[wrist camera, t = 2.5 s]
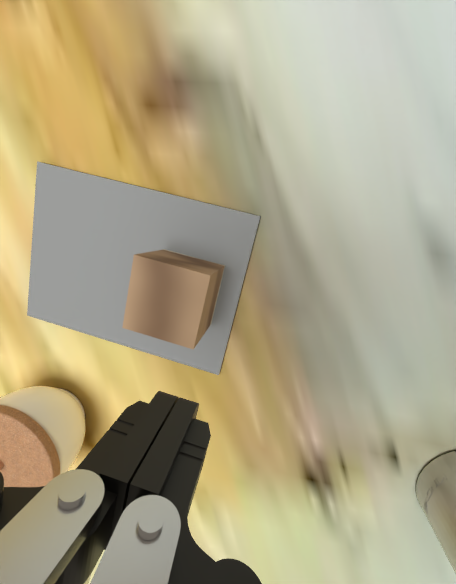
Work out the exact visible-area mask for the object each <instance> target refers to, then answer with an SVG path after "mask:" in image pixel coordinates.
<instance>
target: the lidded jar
mask: <svg viewBox="0 0 456 584" xmlns="http://www.w3.org/2000/svg"><path fill="white" fill-rule="evenodd" d="M85 429H86V428H85V411H84V408H83V406H82V404H81V402H80V401H79V399H78V398H77V397H76V396H75V395H74V394H72V393H71V392H69V391H67V390H65V389H61V388H54V387H49V386H32V387H27V388H22V389H19V390H16V391H13V392H11V393H8V394H6V395H4V396H2V397H0V472H1V473H2V475H3V478H4V487H41V486H46V485H47V484H48V483H49V482H50V481H51V480H52V479H54V478H55V477H57V476H58V475H60V474H62V473H65V472H67V471H68V470H69V469H70V467H71V466H72V464H73V463H74V461H75V459H76V457H77V455H78V454H79V452H80V450H81V447H82V444H83V441H84V437H85Z"/></svg>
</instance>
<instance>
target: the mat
mask: <svg viewBox="0 0 456 584" xmlns="http://www.w3.org/2000/svg"><path fill="white" fill-rule="evenodd" d="M259 220H260V216H257V215H253V214H249V213H245V212H240V211H236V210H232V209H228V208H224V207H220V206H216V205H212V204H208V203H204V202H200V201H196V200H192V199H188V198H183V197H179V196H175V195H171V194H167V193H163V192H159V191H155V190H151V189H147V188H143V187H139V186H135V185H131V184H126V183H122V182H118V181H114V180H110V179H106V178H102V177H98V176H94V175H90V174H86V173H82V172H78V171H74V170H69V169H65V168H61V167H57V166H53V165H49V164H45V163H41V162H37V175H36V190H35V205H34V220H33V236H32V251H31V266H30V281H29V297H28V312H27V315H28V316H31V317H34V318H37V319H40V320H44V321H47V322H50V323H53V324H56V325H60V326H63V327H66V328H69V329H73V330H76V331H79V332H82V333H85V334H89V335H92V336H95V337H98V338H101V339H105V340H108V341H111V342H114V343H117V344H121V345H124V346H127V347H130V348H133V349H137V350H140V351H143V352H146V353H149V354H153V355H156V356H159V357H162V358H165V359H169V360H172V361H175V362H178V363H182V364H185V365H188V366H191V367H194V368H198V369H201V370H204V371H207V372H210V373H214V374H217V375H219V373H220V370H221V366H222V362H223V358H224V354H225V350H226V347H227V343H228V339H229V335H230V331H231V328H232V324H233V320H234V316H235V312H236V308H237V305H238V301H239V297H240V293H241V289H242V285H243V282H244V278H245V274H246V270H247V266H248V262H249V259H250V255H251V251H252V247H253V243H254V239H255V236H256V232H257V228H258V224H259ZM163 249H165V250H169V251H173V252H176V253H180V254H184V255H188V256H191V257H195V258H199V259H203V260H206V261H210V262H214V263H217V264H221V265H225V268H224V272H223V276H222V281H221V285H220V289H219V293H218V297H217V301H216V305H215V310H214V314H213V318H212V322H211V325H210V327H209V328H208V329H207V331H206V332H205V334H204V335H203V337H202V338H201V340H200V341H199V342H198V344H197V345H196V347H195V348H194V350H193V349H190V348H187V347H183V346H180V345H177V344H174V343H170V342H167V341H164V340H160V339H157V338H154V337H151V336H147V335H144V334H141V333H137V332H134V331H131V330H128V329H124V328H122V327H123V320H124V314H125V308H126V301H127V295H128V288H129V282H130V276H131V269H132V263H133V257H134V254H140V253H146V252H152V251H158V250H163Z"/></svg>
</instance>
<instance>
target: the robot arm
mask: <svg viewBox="0 0 456 584" xmlns="http://www.w3.org/2000/svg"><path fill="white" fill-rule="evenodd" d="M198 407H199V403H196V402H192V401H189V400H186V399H183V398H178V397H177V396H173V395H170V394H167V393H164V392H161V391H158V392H157V394H156V395H155V396H154V398H153V399H152V401H151V402H150V403H149V404H148V403H145V402H142V401H138V402H136V403H135V404H133V405H131V406H129V407H127V408H126V409H125V410H124V412H123V413H122V414H121V415H120V417H119V418H118V419H117V421H115V423H114V424H113V425H112V426H111V427H110V429H109V431H107V432H106V433H105V435H104V436H103V437H102V438H101V440H100V441H99V442H98V443H97V444H96V446H95V447H94V448H93V449H92V450H91V452H90V453H89V454H88V455H87V456H86V458H85V459H84V460H83V461H82V463H81V464H80V465H79V466H78V467H77V468H76V469H75V470H71V471H67V472H65V473H62V474H60V475H58V476H57V477H55V478H54V479H52V480H51V481H50V482H49V483H48V484H47V485H46V486H41V487H4V478H3V475H2V473H1V472H0V584H88V583H89V580H90V576H91V573H92V571H93V569H94V567H95V565H96V563H97V561H98V559H99V558H100V556H101V554H102V552H103V550H105V552H104V554H103V557H102V559H101V561H100V563H99V565H98V568H97V570H96V572H95V574H94V577H93V579H92V581H91V583H90V584H261V582H260V580H259V578H258V577H257V575H256V574H255V573H254V572H253V570H252V569H251V568H250V567H248V566H247V565H246V564H244V563H242V562H241V561H238V560H235V559H222V560H219V561H217V562H215V561H214V560H213V559H212V558H211V557H209V556H208V555H207V554H206V553H205V552H204V551H203V550H202V549H201V548H200V547H199V546H198V545H197V544H196V543H195V541H194V539H193V538H192V536H191V533H190V531H189V527H188V521H187V516H188V513H189V510H190V506H191V503H192V500H193V496H194V493H195V490H196V486H197V483H198V480H199V477H200V473H201V470H202V466H203V462H204V459H205V455H206V451H207V447H208V444H209V440H210V436H211V435H210V430H209V425H208V423H206V422H203V421H200V420H197V419H196V415H197V411H198ZM416 494H417V499H418V501H419V503H420V505H421V507H422V509H423V511H424V513H425V515H426V517H427V519H428V521H429V523H430V525H431V527H432V528H433V530H434V532H435V534H436V536H437V538H438V540H439V542H440V544H441V546H442V548H443V550H444V552H445V554H446V556H447V558H448V560H449V562H450V563H451V565H452V567H453V569H454V571H455V573H456V451H454V452H449V453H447V454H444V455H441V456H439V457H438V458H436V459H434V460H433V461H431V462H430V463H429V464H428V465H427V466H426V467H425V468H424V469H423V470H422V472H421V473H420V475H419V477H418V480H417V483H416Z"/></svg>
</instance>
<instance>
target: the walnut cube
mask: <svg viewBox="0 0 456 584" xmlns="http://www.w3.org/2000/svg"><path fill="white" fill-rule="evenodd" d="M224 268H225V265H221V264H217V263H214V262H210V261H206V260H203V259H199V258H195V257H191V256H188V255H184V254H180V253H176V252H173V251H169V250H165V249H163V250H158V251H152V252H146V253H140V254H134V257H133V263H132V269H131V276H130V282H129V288H128V295H127V301H126V308H125V314H124V320H123V327H122V328H124V329H128V330H131V331H134V332H137V333H141V334H144V335H147V336H151V337H154V338H157V339H160V340H164V341H167V342H170V343H174V344H177V345H180V346H183V347H187V348H190V349H193V350H194V348H195V347H196V345H197V344H198V342H199V341H200V340H201V338H202V337H203V335H204V334H205V332H206V331H207V329H208V328H209V327H210V325H211V322H212V318H213V314H214V310H215V305H216V301H217V297H218V293H219V289H220V285H221V281H222V276H223V272H224Z"/></svg>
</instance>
